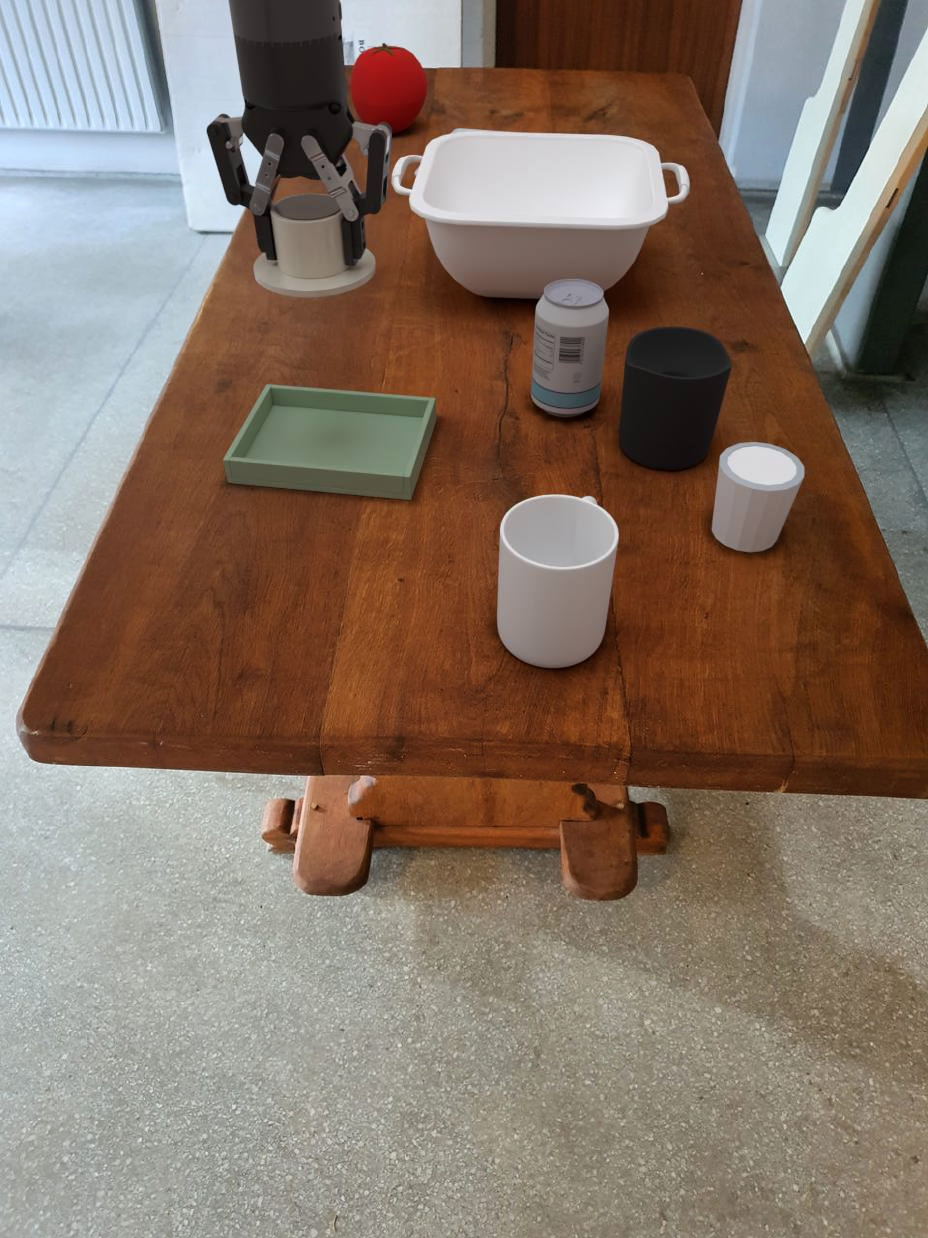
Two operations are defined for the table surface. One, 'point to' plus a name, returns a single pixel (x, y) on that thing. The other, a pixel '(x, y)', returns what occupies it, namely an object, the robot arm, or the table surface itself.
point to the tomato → (388, 87)
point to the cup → (555, 578)
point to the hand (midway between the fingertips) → (314, 258)
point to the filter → (310, 250)
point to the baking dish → (537, 206)
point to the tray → (333, 441)
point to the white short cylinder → (754, 495)
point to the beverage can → (569, 347)
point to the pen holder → (672, 396)
